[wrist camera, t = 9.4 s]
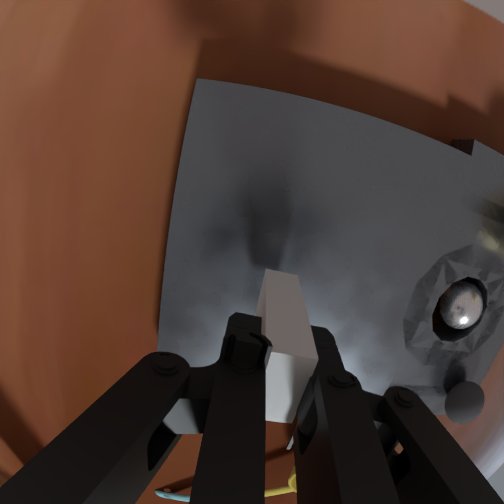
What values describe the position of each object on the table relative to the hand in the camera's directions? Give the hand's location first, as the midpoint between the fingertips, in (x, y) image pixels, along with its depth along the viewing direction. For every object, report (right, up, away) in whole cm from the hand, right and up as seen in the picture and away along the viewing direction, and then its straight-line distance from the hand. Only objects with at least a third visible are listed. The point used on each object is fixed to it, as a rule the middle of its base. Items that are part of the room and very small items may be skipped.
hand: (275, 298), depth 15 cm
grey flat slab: (+6, 0, +4) cm, 8 cm away
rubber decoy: (+14, -9, +2) cm, 17 cm away
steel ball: (+13, -1, +3) cm, 13 cm away
